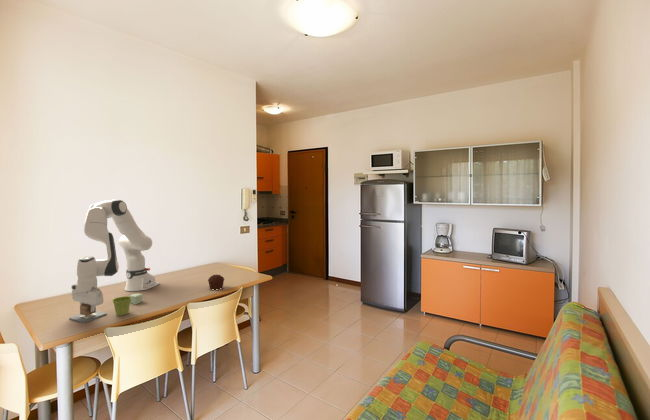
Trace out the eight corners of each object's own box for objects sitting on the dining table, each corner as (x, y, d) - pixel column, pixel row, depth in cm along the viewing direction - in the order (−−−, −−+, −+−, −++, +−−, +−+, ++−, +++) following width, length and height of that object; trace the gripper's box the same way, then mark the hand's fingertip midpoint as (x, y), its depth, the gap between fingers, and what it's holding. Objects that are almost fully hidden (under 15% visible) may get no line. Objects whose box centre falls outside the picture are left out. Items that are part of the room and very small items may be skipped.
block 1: (89, 311, 176) (89, 302, 175) (95, 312, 174) (95, 303, 174) (80, 314, 171) (79, 305, 171) (86, 315, 169) (86, 306, 169)
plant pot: (118, 310, 183) (118, 296, 182) (135, 310, 183) (135, 296, 183) (108, 317, 173) (108, 301, 173) (126, 316, 174) (126, 301, 174)
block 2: (136, 300, 199) (136, 293, 199) (142, 301, 197) (142, 294, 197) (129, 303, 194) (129, 295, 194) (135, 304, 193) (135, 296, 192)
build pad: (92, 311, 180) (92, 309, 180) (106, 314, 176) (106, 312, 176) (69, 319, 169) (69, 317, 169) (84, 323, 165) (84, 321, 165)
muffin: (227, 287, 229) (227, 274, 228) (216, 292, 219) (216, 278, 218) (215, 285, 234) (215, 272, 233) (204, 289, 224) (204, 275, 223)
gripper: (106, 287, 171) (106, 311, 172) (81, 282, 178) (81, 305, 179) (94, 290, 165) (95, 315, 166) (69, 285, 172) (69, 309, 173)
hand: (88, 310), depth 172 cm, fingers closed on block 1, 5 cm apart
